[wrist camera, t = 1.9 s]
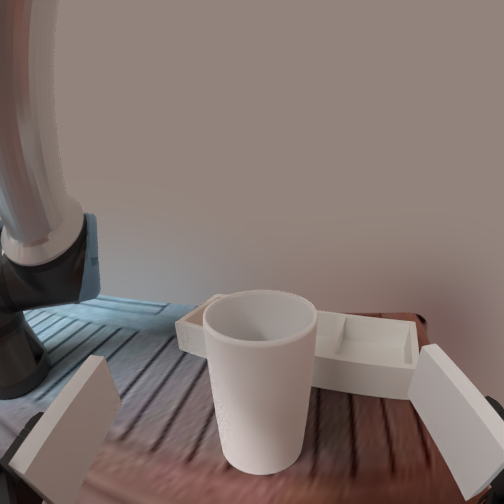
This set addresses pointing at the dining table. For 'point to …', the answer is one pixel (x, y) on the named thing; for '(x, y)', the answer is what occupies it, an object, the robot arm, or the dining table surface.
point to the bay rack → (341, 351)
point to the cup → (261, 375)
